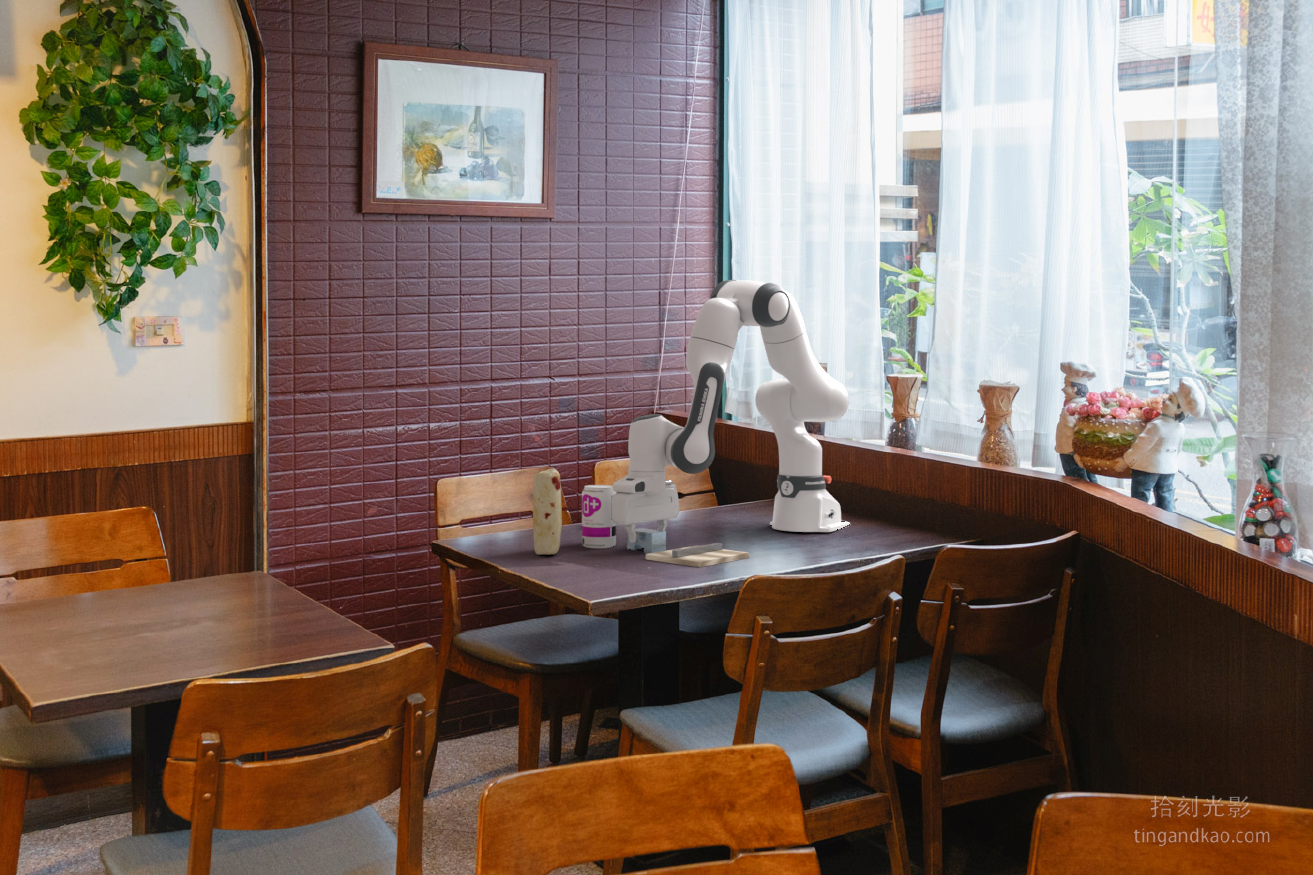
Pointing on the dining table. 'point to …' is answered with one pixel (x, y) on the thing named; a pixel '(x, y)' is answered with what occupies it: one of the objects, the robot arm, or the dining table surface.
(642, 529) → the saddle block
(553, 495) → the food model
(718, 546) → the guide rail
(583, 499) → the supplement can
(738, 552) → the rail base
